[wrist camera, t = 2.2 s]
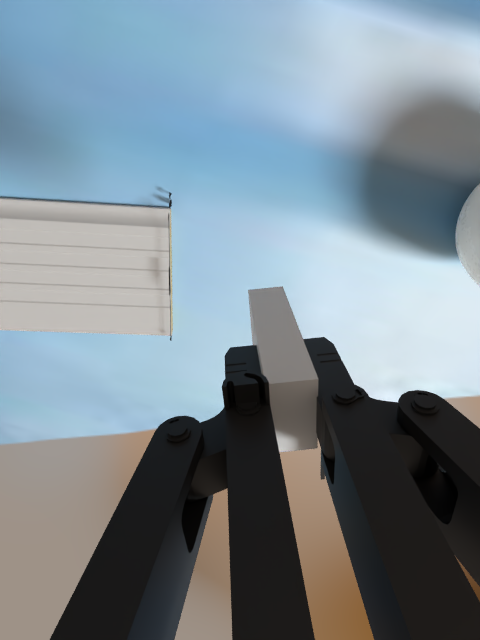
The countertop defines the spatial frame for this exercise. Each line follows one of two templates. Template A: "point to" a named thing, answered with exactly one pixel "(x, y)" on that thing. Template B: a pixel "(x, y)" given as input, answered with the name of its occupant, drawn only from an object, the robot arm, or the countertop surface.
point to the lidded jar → (470, 235)
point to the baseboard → (85, 267)
